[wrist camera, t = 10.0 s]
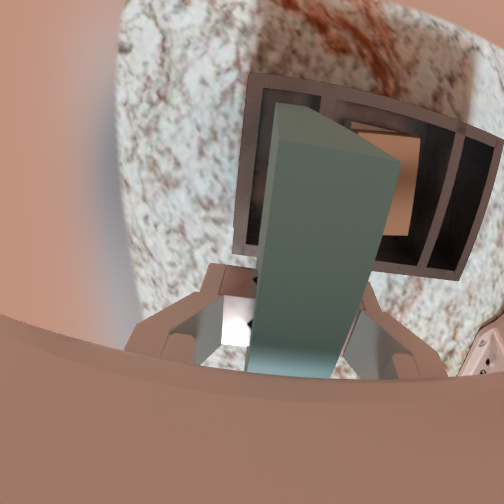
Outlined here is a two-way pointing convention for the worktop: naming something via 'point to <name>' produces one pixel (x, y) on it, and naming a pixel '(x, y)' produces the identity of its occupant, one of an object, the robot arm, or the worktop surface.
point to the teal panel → (315, 241)
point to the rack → (427, 182)
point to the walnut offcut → (408, 155)
